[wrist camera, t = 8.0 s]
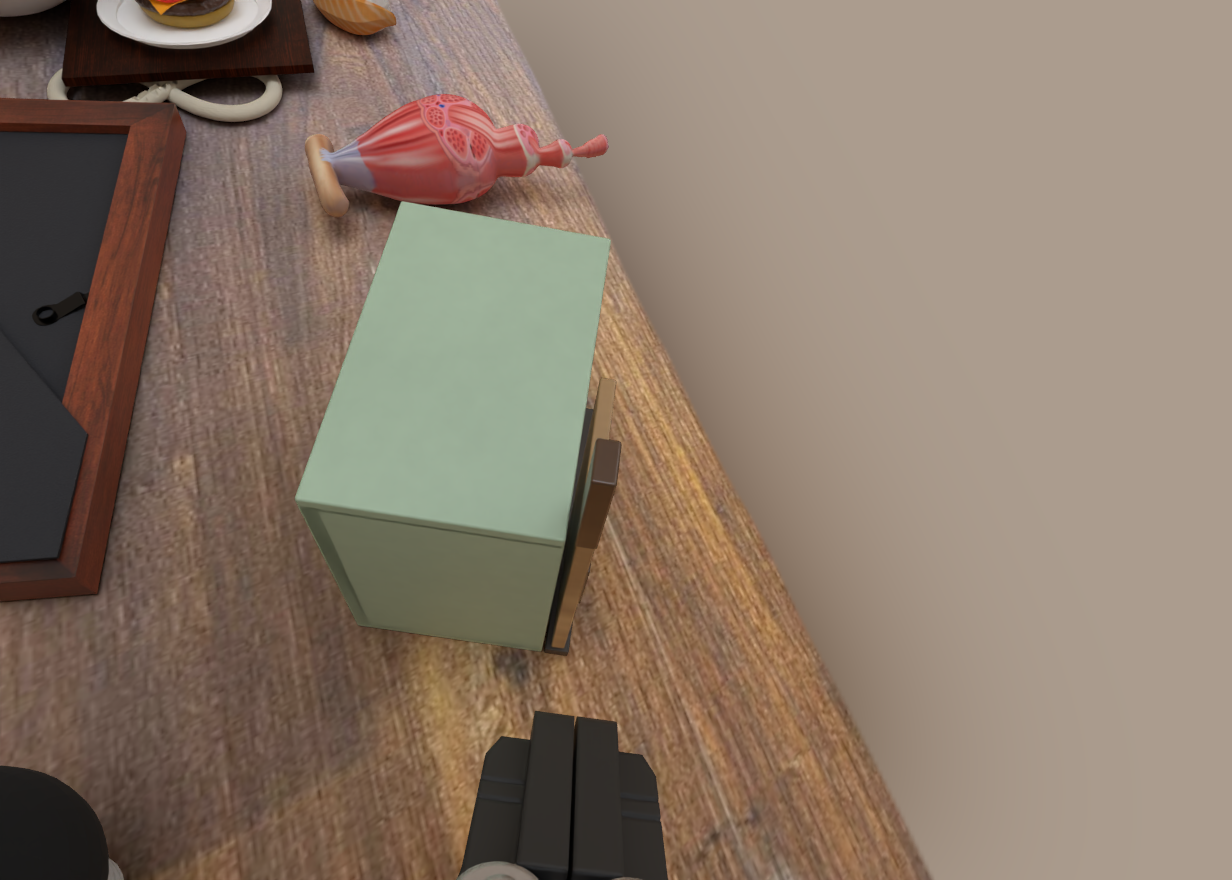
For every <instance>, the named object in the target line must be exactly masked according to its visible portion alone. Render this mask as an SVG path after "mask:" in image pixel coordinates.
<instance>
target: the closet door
mask: <svg viewBox="0 0 1232 880" xmlns="http://www.w3.org/2000/svg"><path fill="white" fill-rule="evenodd" d="M615 389H616V380H612V379H606V378H601V379H600V382H599V386H598V391H597V396H596V400H595V405H594V410H593V414H592V419H591V423H590V428H589V433H588V437H587V442H586V447H585V451H584V456H583V461H582V465H581V470H580V474H579V479H578V484H577V488H576V493H575V498H574V502H573V507H572V511H571V517H570V523H569V530H568V537H567V543H566V550H565V557H564V563H563V570H562V577H561V583H560V590H559V597H558V603H557V610H556V617H555V623H554V630H553V637H552V643H551V646H552V647H557V648H564V647H565V644H566V641H567V637H568V634H569V631H570V628H571V624H572V621H573V618H574V615H575V611H576V608H577V605H578V603H580V601H581V598H582V595H583V592H584V588H585V585H586V582H587V579H588V576H589V573H590V566H591V560H592V556H593V553H594V550H595V549H596V548H597V546H598V543H599V540H600V537H601V533H602V530H603V527H604V524H605V521H606V518H607V514H608V511H609V508H610V505H611V502H612V498H613V495H614V492H615V489H616V486H617V478H618V470H619V461H620V453H621V442H619V441H614V440H609V436H610V428H611V421H612V413H613V405H614V397H615Z"/></svg>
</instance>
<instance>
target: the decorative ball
mask: <svg viewBox="0 0 1232 880" xmlns="http://www.w3.org/2000/svg"><path fill="white" fill-rule="evenodd" d="M64 1H66V0H0V16H2V17H10V16H23V15H30V14H34V13H38V12H42V11H45V10H48V9H50V8H53V7H55V6H57V5H59V4H61V3H62V2H64Z"/></svg>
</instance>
